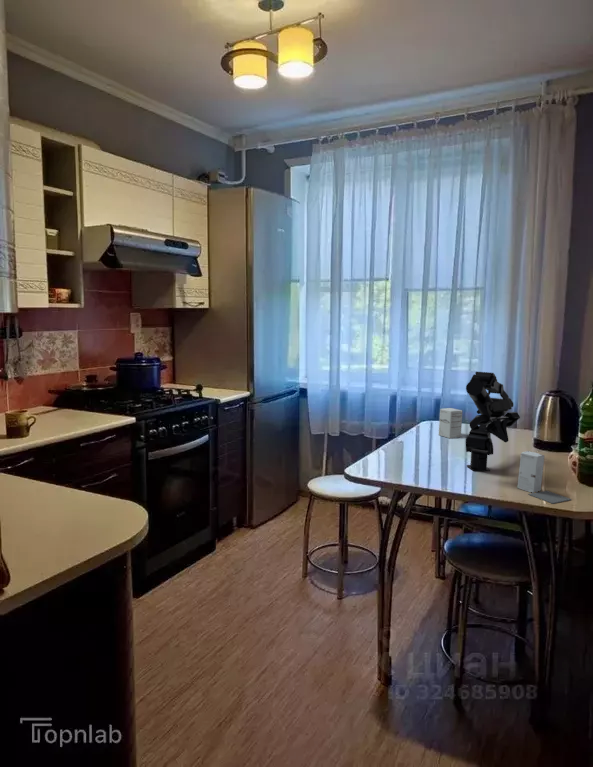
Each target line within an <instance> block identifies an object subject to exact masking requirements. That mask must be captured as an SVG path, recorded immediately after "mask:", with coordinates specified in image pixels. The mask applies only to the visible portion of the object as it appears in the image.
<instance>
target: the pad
mask: <svg viewBox="0 0 593 767" xmlns="http://www.w3.org/2000/svg"><path fill="white" fill-rule="evenodd" d="M528 495H529V496H531V497H533V498H536V499H538V498H539V499H538V500H541V499H542V501H543V502H546V501H547V503H549V504H553V505H554V504H558V503H559V504H560V503H564V501H565V502H569V500H570V501H572V498H569V497H566V496H564V495H560V494H559V493H555V492H552V491H550V490H543V491H539V492H536V493H531V492H530V493H527V496H528Z"/></svg>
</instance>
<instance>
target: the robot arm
mask: <svg viewBox="0 0 593 767" xmlns="http://www.w3.org/2000/svg"><path fill="white" fill-rule="evenodd" d="M470 378H471V379H470V380H469V382H468V383H467V384H466V386H465V391H466V393H467V394H468V395H469V397H470V398H471V400H472V402H473V403H474V405H475V406H476V408H477V410H476V413H477V414H476V415H475V416H474V417H473V419H471V421H470V422H469V428H470V431H469V433H468V434H467V435H466V437H465V451H466V453H470V464H467V465H466V467H467V468H468V469H469V470H472V471H473V472H488V471H489V472H490V471H491V469H490V468H489V467H487V466H488V456H492V455H494V443H493V440H492V438H491V436H492V435H493V436H495V437H496V438H498V439H499V440H501V441H502V442H503V443H508V442H509V435H508V429H507V428H509V427H512V426H513V425H514V424H515V423H517V421H518V420H519V419H521V416H520V415H519V412H516V411H509V410H512V409H513V407H514V402H513V400H512V399H511V398H510V397H509V395H508V394H507V392H506V391H505V389H504V384H502V383H500V382H499V381H498V379H497V375H496V374H495V373H494V372H490V371H489V372H488V371H487V372H485V371H475V374H473V375H472V377H470ZM491 394H498V395H499V396H500V397H501V398H499V397H497V398H496V397H491V396H490V395H491Z"/></svg>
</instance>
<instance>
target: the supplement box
mask: <svg viewBox="0 0 593 767" xmlns="http://www.w3.org/2000/svg"><path fill="white" fill-rule="evenodd" d="M462 423H463V410H462V409H457V408H453V407H448V408H447V407H444V408H440V409H439V424H438V436H442V437H444V438H448V439H456V438H455V437H458V438H462V425H463V424H462Z"/></svg>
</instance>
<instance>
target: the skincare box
mask: <svg viewBox="0 0 593 767" xmlns="http://www.w3.org/2000/svg"><path fill="white" fill-rule="evenodd" d="M544 462H545V454H542V453H538V452H535V451H530V450H526V451H522V452H521V453H520V459H519V470H518V478H517V489H518V490H519V489H520V490H522V491H525V492H529V493H531V492H532V493H534V492H538V491H539V492H542V491H541V489H542V481H543V472H544V471H543V470H544Z"/></svg>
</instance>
